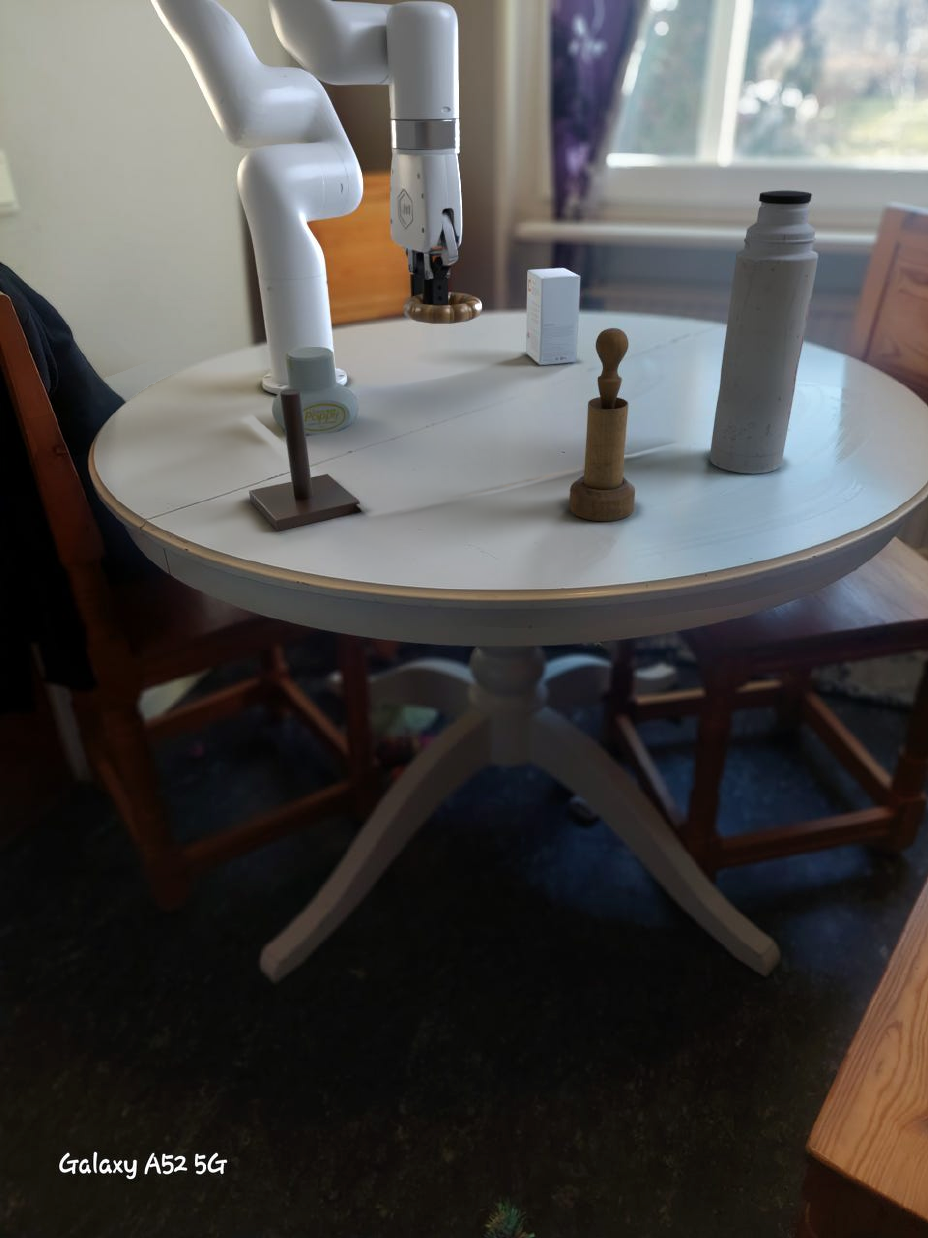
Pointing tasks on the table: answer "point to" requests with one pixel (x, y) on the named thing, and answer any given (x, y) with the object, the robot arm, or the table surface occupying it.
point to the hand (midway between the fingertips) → (429, 308)
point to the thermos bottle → (765, 335)
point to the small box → (552, 315)
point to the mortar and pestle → (605, 442)
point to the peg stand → (301, 480)
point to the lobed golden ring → (444, 309)
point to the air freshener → (318, 392)
